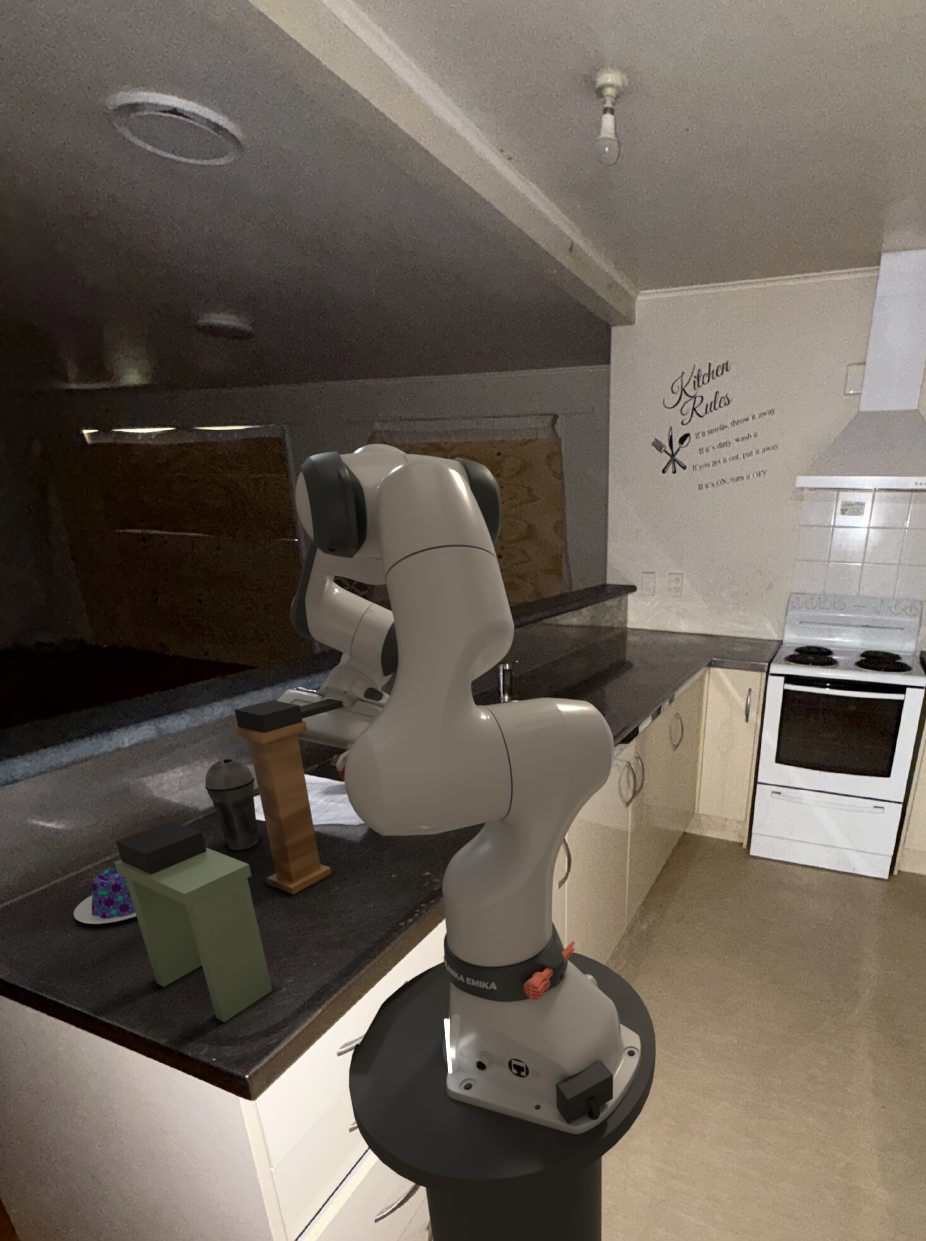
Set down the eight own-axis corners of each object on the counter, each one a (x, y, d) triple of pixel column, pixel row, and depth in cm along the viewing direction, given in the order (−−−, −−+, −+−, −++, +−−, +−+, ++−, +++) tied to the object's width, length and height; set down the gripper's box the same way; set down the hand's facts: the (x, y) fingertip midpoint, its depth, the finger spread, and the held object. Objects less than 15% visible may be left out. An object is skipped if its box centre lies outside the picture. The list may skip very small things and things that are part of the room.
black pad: (350, 708, 99) (348, 692, 98) (264, 732, 87) (261, 715, 86) (324, 703, 101) (321, 688, 100) (237, 726, 89) (234, 709, 88)
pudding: (52, 926, 87) (40, 894, 86) (119, 881, 99) (110, 851, 97) (135, 929, 87) (125, 897, 85) (193, 884, 98) (185, 854, 96)
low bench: (276, 988, 76) (249, 864, 70) (219, 1025, 70) (184, 894, 64) (209, 953, 82) (179, 836, 76) (152, 985, 76) (114, 862, 70)
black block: (207, 851, 73) (202, 831, 72) (151, 874, 68) (145, 854, 67) (177, 839, 75) (172, 820, 75) (121, 861, 70) (115, 841, 70)
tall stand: (331, 873, 101) (305, 721, 92) (293, 894, 95) (261, 733, 86) (306, 864, 104) (279, 715, 95) (267, 884, 98) (234, 727, 89)
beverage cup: (276, 837, 113) (254, 730, 106) (243, 856, 106) (218, 744, 99) (243, 832, 115) (220, 726, 108) (209, 850, 108) (182, 739, 101)
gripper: (284, 672, 106) (238, 735, 98) (398, 698, 105) (362, 763, 97) (296, 697, 112) (254, 758, 104) (406, 722, 110) (372, 786, 102)
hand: (307, 761), depth 100 cm, fingers open, 8 cm apart
